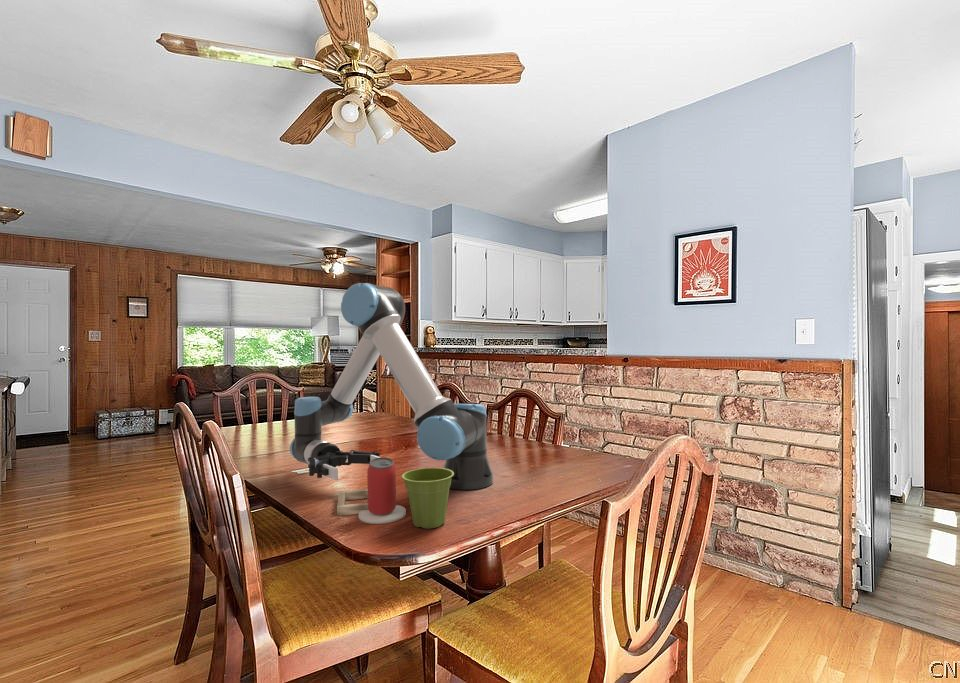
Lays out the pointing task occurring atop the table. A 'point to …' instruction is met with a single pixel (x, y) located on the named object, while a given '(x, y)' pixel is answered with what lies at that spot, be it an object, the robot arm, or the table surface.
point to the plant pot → (428, 495)
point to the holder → (351, 508)
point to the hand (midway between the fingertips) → (361, 469)
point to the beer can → (381, 486)
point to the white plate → (382, 516)
